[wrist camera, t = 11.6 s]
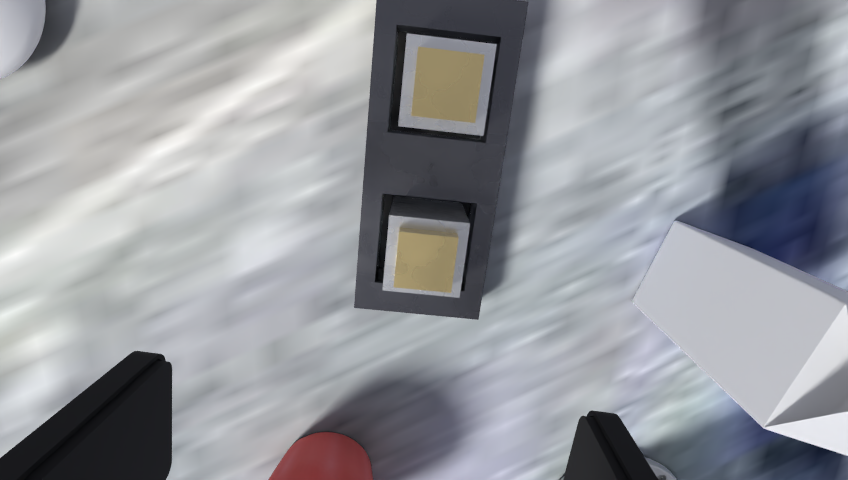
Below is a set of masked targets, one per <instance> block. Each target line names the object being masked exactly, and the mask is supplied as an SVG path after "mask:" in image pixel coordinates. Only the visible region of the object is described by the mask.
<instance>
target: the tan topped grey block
mask: <svg viewBox="0 0 848 480" xmlns="http://www.w3.org/2000/svg"><path fill="white" fill-rule="evenodd" d="M469 228H470V222H469V220H468V217H467V215H466V212H465V210H464V208H463V205H462V203H458V202H449V201H439V200H430V199H420V198H411V197H402V196H394V198H393V202H392V206H391V210H390V214H389V223H388V234H387V245H386V256H385V267H384V278H383V289H382V290H384V291H394V292H404V293H415V294H425V295H435V296H446V297H456V298H460V291H461V284H462V277H463V270H464V263H465V256H466V249H467V242H468V235H469Z"/></svg>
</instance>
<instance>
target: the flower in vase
mask: <svg viewBox="0 0 848 480" xmlns="http://www.w3.org/2000/svg"><path fill="white" fill-rule="evenodd" d="M45 15H46V3H45V0H0V79H1V78H4V77H6V76H8V75H10V74H11V73H13V72H15V71H16V70H17V69H19V68H20V67H21V66H22V65H23V64H24V63H25V62H26V61H27V60H28V58H29V57H30V56H31V55H32V53H33V52H34V50H35V48H36V46H37V45H38V43H39V40H40V38H41V35H42V32H43V28H44V24H45Z"/></svg>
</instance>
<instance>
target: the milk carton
mask: <svg viewBox="0 0 848 480" xmlns="http://www.w3.org/2000/svg"><path fill="white" fill-rule="evenodd" d="M632 303H633V304H634V305H635V306H636V307H637V308H638V309H639V310H640V311H642V312H643V313H644V314H645V315H646V316H647V317H648V318H649V319H650V320H651V321H652V322H653V323H654V324H655V325H656V326H657V327H658V328H659V329H660V330H661V331H662V332H663V333H664V334H666V335H667V336H668V337H669V338H670V339H671V340H672V341H673V342H674V343H675V344H676V345H677V346H678V347H679V348H680V349H681V350H682V351H683V352H684V353H685V354H686V355H687V356H689V357H690V358H691V359H692V360H693V361H694V362H695V363H696V364H697V365H698V366H699V367H700V368H701V369H702V370H703V371H704V372H705V373H706V374H707V375H708V376H709V377H710V378H711V379H713V380H714V381H715V382H716V383H717V384H718V385H719V386H720V387H721V388H722V389H723V390H724V391H725V392H726V393H727V394H728V395H729V396H730V397H731V398H732V399H733V400H734V401H735V402H737V403H738V404H739V405H740V406H741V407H742V408H743V409H744V410H745V411H746V412H747V413H748V414H749V415H750V416H751V417H752V418H753V419H754V420H755V421H756V422H757V423H758V424H760V425H761V426H762V427H763V428H764V429H767V430H769V431H772V432H775V433H779V434H782V435H785V436H788V437H791V438H794V439H797V440H800V441H803V442H806V443H809V444H813V445H816V446H819V447H822V448H825V449H828V450H831V451H834V452H837V453H840V454H844V455H847V456H848V291H846V290H844V289H841V288H839V287H837V286H835V285H832V284H830V283H828V282H826V281H824V280H821V279H819V278H817V277H815V276H812V275H810V274H808V273H806V272H804V271H801V270H799V269H797V268H795V267H792V266H790V265H788V264H786V263H784V262H781V261H779V260H777V259H775V258H773V257H770V256H768V255H766V254H764V253H761V252H759V251H757V250H755V249H752V248H750V247H747V246H745V245H742V244H739V243H736V242H734V241H731V240H728V239H726V238H723V237H720V236H717V235H715V234H712V233H709V232H707V231H704V230H701V229H699V228H696V227H693V226H690V225H688V224H685V223H682V222H679V221H674V222H673V224H672V226H671V228H670V230H669V232H668V234H667V235H666V237H665V239H664V241H663V243H662V245H661V247H660V249H659V251H658V252H657V254H656V256H655V258H654V260H653V262H652V264H651V266H650V268H649V270H648V271H647V273H646V275H645V277H644V279H643V281H642V283H641V285H640V287H639V289H638V290H637V292H636V294H635V296H634V298H633V300H632Z"/></svg>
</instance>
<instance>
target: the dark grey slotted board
mask: <svg viewBox="0 0 848 480" xmlns="http://www.w3.org/2000/svg"><path fill="white" fill-rule="evenodd" d="M527 7H528V2H525V1H517V0H377V3H376V17H375V30H374V44H373V58H372V71H371V85H370V99H369V112H368V126H367V140H366V153H365V167H364V181H363V194H362V208H361V222H360V235H359V249H358V263H357V276H356V290H355V304H354V308H363V309H373V310H384V311H394V312H405V313H415V314H425V315H436V316H446V317H457V318H467V319H479V312H480V306H481V300H482V293H483V287H484V281H485V274H486V268H487V261H488V255H489V249H490V242H491V236H492V230H493V223H494V217H495V210H496V204H497V198H498V191H499V185H500V179H501V172H502V166H503V160H504V153H505V147H506V140H507V134H508V128H509V121H510V115H511V109H512V102H513V96H514V89H515V83H516V77H517V70H518V64H519V58H520V51H521V45H522V39H523V32H524V26H525V19H526V13H527ZM399 31H401V32H409V33H418V34H426V35H434V36H443V37H451V38H459V39H468V40H476V41H484V42H493V43H494V44H497V46H496V52H495V59H494V66H493V73H492V80H491V87H490V94H489V101H488V108H487V115H486V122H485V128H484V135H483V136H481V137H480V139H472V138H463V137H454V136H445V135H436V134H427V133H418V132H409V131H400V130H391V129H390V125H391V114H392V102H393V91H394V79H395V68H396V56H397V45H398V33H399ZM384 194H393V195H402V196H412V197H421V198H431V199H440V200H449V201H459V202H468V203H471V208H470V215H469V222H470V228H469V235H468V242H467V249H466V256H465V263H464V270H463V277H462V284H461V291H460V298H456V297H446V296H435V295H425V294H415V293H404V292H394V291H384V290H382V289H383V278H384V268H378V264H379V252H380V241H381V229H382V217H383V206H384Z"/></svg>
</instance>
